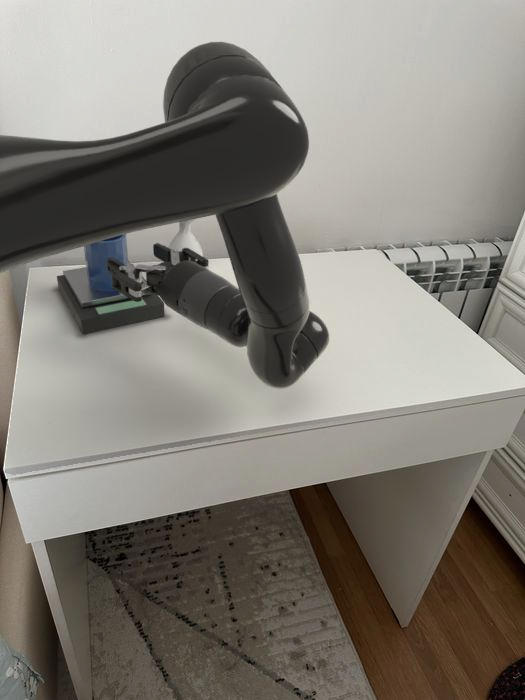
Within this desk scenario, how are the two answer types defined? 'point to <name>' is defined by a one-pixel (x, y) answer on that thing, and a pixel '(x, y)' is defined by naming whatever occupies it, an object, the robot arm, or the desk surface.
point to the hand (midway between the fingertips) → (132, 255)
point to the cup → (104, 261)
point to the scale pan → (86, 293)
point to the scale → (110, 310)
